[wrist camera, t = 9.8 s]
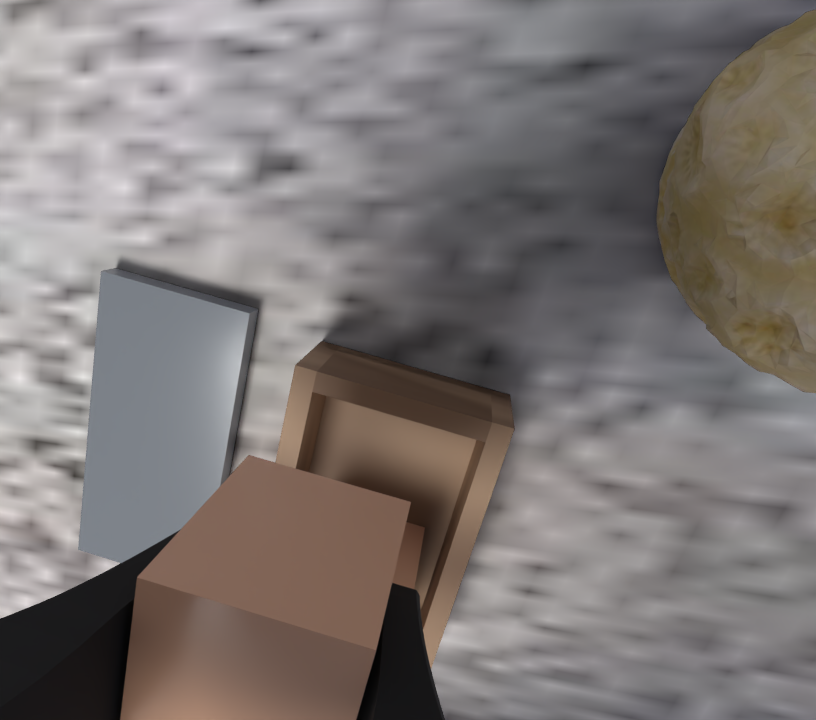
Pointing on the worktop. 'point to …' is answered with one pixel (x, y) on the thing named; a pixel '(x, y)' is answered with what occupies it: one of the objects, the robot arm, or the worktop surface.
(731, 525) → the worktop surface
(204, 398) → the slate board
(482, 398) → the walnut bin
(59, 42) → the worktop surface
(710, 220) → the coral
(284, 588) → the tan cube
